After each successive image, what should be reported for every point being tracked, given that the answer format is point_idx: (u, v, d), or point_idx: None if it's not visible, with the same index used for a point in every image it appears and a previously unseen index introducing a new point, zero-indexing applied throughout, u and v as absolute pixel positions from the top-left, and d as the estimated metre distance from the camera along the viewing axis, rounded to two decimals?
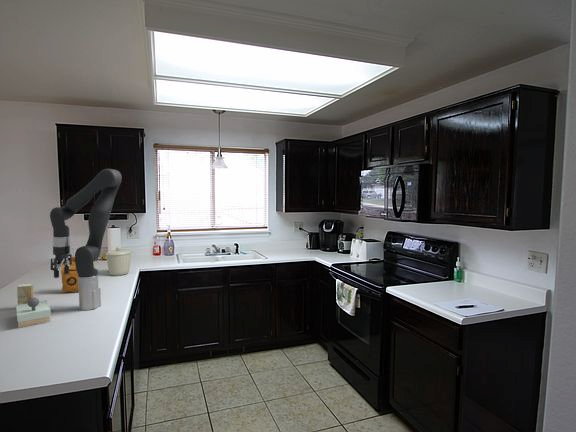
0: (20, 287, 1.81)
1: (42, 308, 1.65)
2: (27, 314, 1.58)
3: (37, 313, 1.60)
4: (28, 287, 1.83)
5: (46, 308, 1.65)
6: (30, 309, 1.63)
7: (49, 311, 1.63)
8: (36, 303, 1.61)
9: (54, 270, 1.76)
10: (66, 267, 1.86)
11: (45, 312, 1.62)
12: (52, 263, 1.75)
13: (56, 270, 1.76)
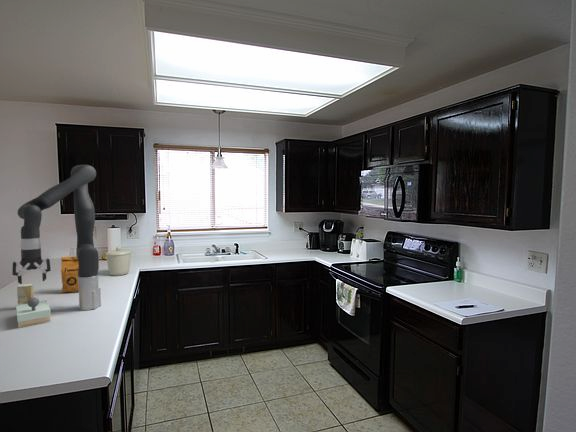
0: (20, 287, 1.81)
1: (42, 308, 1.65)
2: (27, 314, 1.58)
3: (37, 313, 1.60)
4: (28, 287, 1.83)
5: (46, 308, 1.65)
6: (30, 309, 1.63)
7: (49, 311, 1.63)
8: (36, 303, 1.61)
9: (46, 272, 1.65)
10: None
11: (45, 312, 1.62)
12: (49, 263, 1.65)
13: None
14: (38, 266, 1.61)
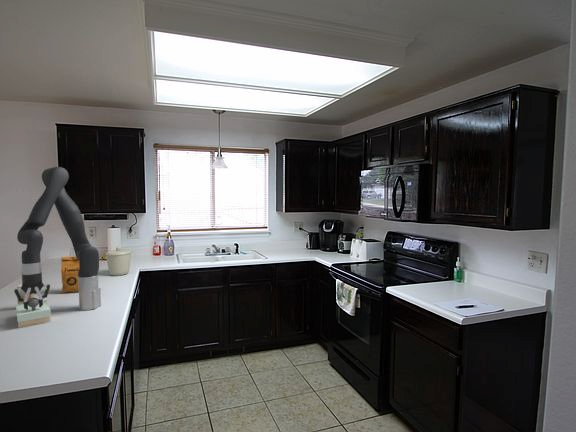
0: None
1: (42, 308, 1.65)
2: (27, 314, 1.58)
3: (37, 313, 1.60)
4: None
5: (46, 308, 1.65)
6: (30, 309, 1.63)
7: (49, 311, 1.63)
8: (36, 303, 1.61)
9: None
10: None
11: (45, 312, 1.62)
12: (48, 290, 1.65)
13: None
14: (37, 291, 1.61)
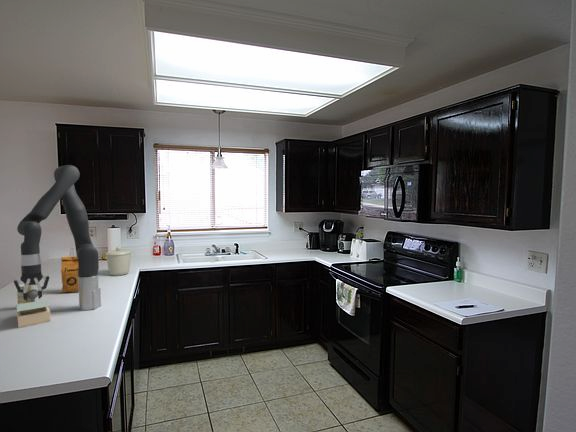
0: (20, 287, 1.81)
1: None
2: (26, 303, 1.58)
3: (36, 303, 1.60)
4: (28, 287, 1.83)
5: None
6: None
7: (48, 301, 1.63)
8: (35, 294, 1.62)
9: (42, 289, 1.65)
10: (26, 292, 1.62)
11: (44, 302, 1.62)
12: (47, 281, 1.66)
13: (41, 289, 1.66)
14: (37, 282, 1.63)
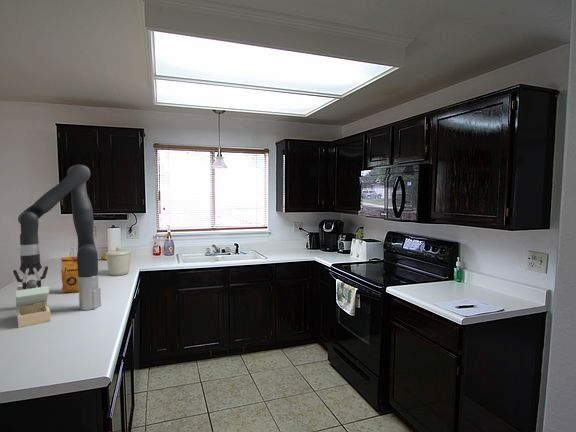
0: (20, 287, 1.81)
1: None
2: (25, 290, 1.60)
3: (35, 289, 1.62)
4: None
5: None
6: None
7: (47, 288, 1.65)
8: (34, 283, 1.65)
9: (41, 279, 1.68)
10: (25, 282, 1.64)
11: (43, 288, 1.64)
12: (46, 271, 1.69)
13: None
14: (36, 272, 1.65)
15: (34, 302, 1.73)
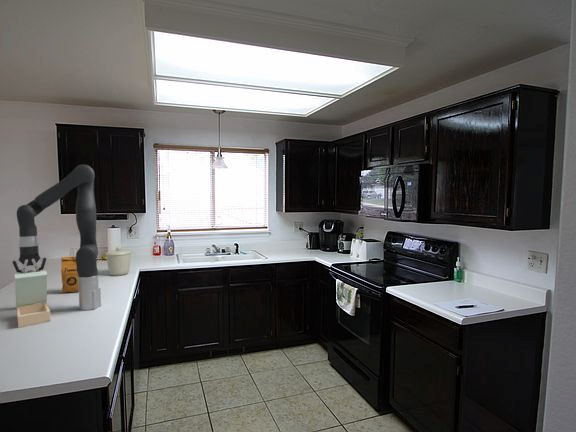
0: None
1: None
2: (24, 273, 1.65)
3: (34, 273, 1.67)
4: None
5: None
6: None
7: (45, 271, 1.70)
8: (33, 271, 1.71)
9: None
10: None
11: (41, 272, 1.69)
12: (44, 262, 1.75)
13: (38, 270, 1.74)
14: (34, 263, 1.71)
15: (34, 300, 1.74)
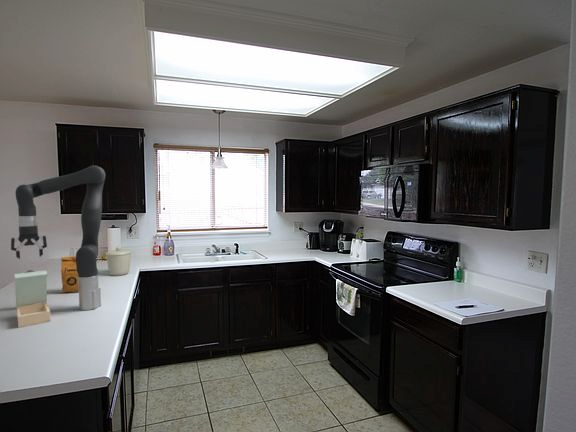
0: None
1: None
2: (24, 273, 1.65)
3: (34, 272, 1.67)
4: None
5: None
6: None
7: (45, 271, 1.70)
8: (33, 271, 1.71)
9: None
10: (19, 251, 1.70)
11: (41, 272, 1.69)
12: (45, 240, 1.76)
13: (42, 248, 1.76)
14: (35, 242, 1.72)
15: (34, 300, 1.74)
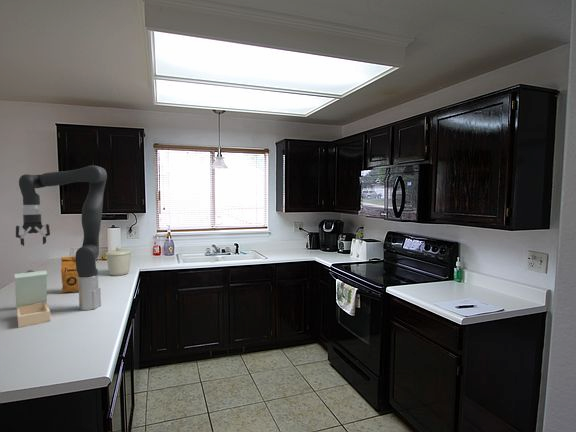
0: None
1: None
2: (24, 273, 1.65)
3: (34, 272, 1.67)
4: None
5: None
6: None
7: (45, 271, 1.70)
8: (33, 271, 1.71)
9: None
10: (23, 238, 1.77)
11: (41, 272, 1.69)
12: None
13: (45, 236, 1.83)
14: (39, 230, 1.79)
15: (34, 300, 1.74)
